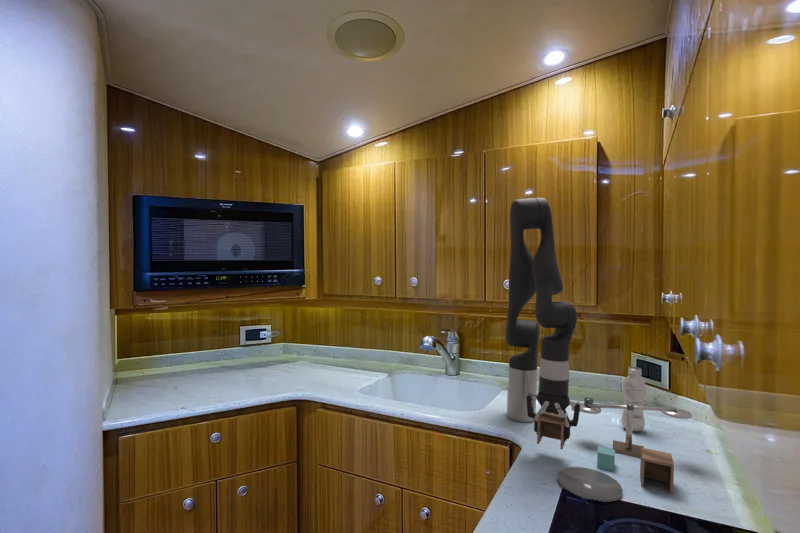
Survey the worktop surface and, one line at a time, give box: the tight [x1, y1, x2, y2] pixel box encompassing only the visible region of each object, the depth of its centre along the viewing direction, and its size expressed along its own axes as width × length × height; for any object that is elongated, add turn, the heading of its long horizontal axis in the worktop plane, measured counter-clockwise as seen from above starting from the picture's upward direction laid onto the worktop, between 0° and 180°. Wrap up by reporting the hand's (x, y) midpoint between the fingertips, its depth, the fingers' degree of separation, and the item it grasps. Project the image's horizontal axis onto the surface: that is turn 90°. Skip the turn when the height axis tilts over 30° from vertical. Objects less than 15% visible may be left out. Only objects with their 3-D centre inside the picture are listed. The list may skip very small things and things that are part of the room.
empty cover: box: [639, 447, 675, 495], centre depth 101 cm, size 6×6×7 cm
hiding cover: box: [536, 411, 566, 450], centre depth 113 cm, size 6×6×7 cm
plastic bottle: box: [620, 366, 647, 433], centre depth 133 cm, size 6×7×20 cm
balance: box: [580, 397, 692, 459], centre depth 118 cm, size 29×7×14 cm, turn 62°
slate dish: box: [557, 466, 623, 503], centre depth 99 cm, size 14×14×1 cm
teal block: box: [596, 446, 616, 472], centre depth 110 cm, size 4×4×4 cm
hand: (551, 436), depth 113 cm, fingers closed on hiding cover, 6 cm apart
